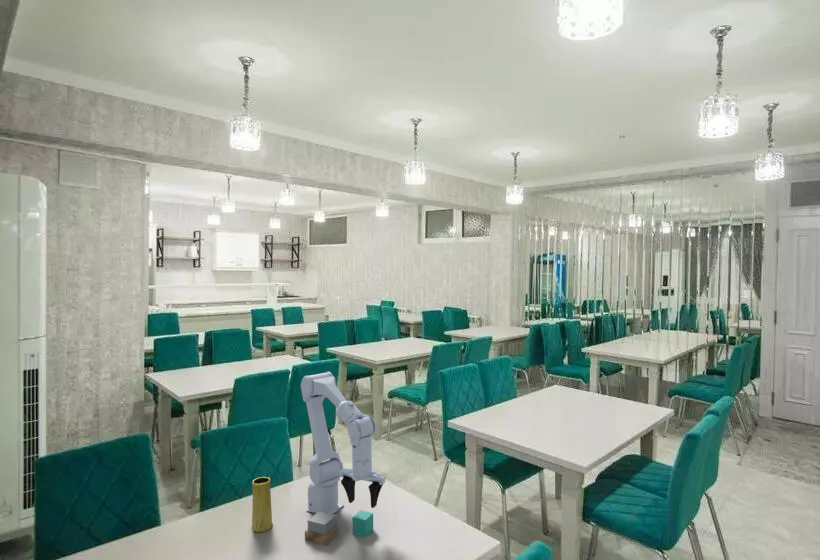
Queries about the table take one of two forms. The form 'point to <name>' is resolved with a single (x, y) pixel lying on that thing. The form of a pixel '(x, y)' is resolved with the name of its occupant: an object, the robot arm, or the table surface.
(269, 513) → the vase
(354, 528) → the teal block
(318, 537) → the walnut slab
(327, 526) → the slate slab
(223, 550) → the table surface
